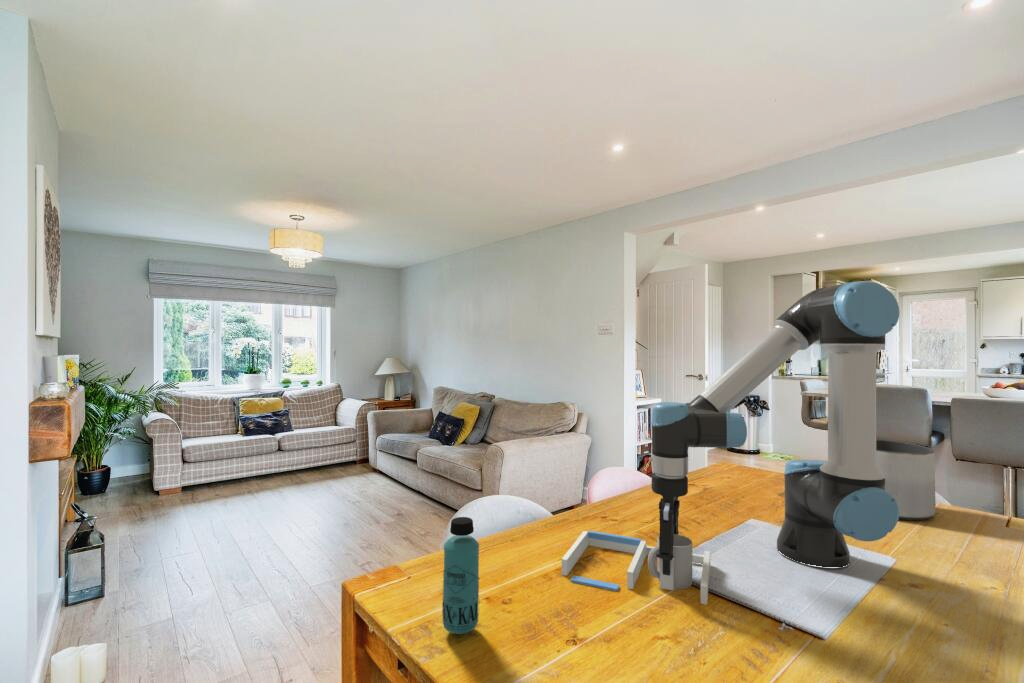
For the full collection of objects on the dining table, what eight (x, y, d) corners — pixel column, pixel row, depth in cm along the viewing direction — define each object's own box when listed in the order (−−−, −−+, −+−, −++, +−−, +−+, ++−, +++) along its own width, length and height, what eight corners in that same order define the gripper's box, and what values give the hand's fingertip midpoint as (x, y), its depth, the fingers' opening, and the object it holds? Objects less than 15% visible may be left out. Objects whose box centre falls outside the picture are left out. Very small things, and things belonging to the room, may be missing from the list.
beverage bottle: (443, 622, 89) (443, 513, 89) (479, 621, 90) (479, 512, 90) (440, 644, 82) (441, 526, 83) (480, 642, 83) (480, 525, 83)
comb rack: (710, 564, 113) (710, 549, 113) (706, 610, 93) (706, 592, 93) (584, 542, 125) (584, 529, 125) (558, 579, 106) (558, 563, 106)
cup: (699, 587, 102) (699, 545, 102) (657, 593, 100) (657, 550, 100) (679, 572, 109) (679, 532, 109) (639, 577, 107) (639, 536, 107)
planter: (928, 506, 155) (927, 443, 156) (943, 528, 136) (942, 456, 137) (842, 494, 168) (842, 436, 168) (845, 513, 149) (845, 447, 149)
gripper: (657, 462, 116) (657, 557, 116) (644, 484, 97) (643, 598, 97) (691, 465, 113) (690, 563, 113) (683, 489, 94) (683, 606, 94)
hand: (669, 579), depth 105 cm, fingers closed on cup, 8 cm apart
